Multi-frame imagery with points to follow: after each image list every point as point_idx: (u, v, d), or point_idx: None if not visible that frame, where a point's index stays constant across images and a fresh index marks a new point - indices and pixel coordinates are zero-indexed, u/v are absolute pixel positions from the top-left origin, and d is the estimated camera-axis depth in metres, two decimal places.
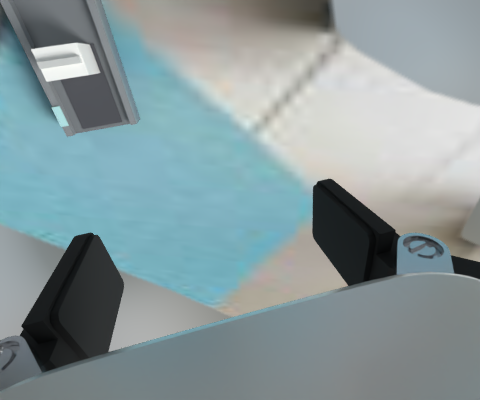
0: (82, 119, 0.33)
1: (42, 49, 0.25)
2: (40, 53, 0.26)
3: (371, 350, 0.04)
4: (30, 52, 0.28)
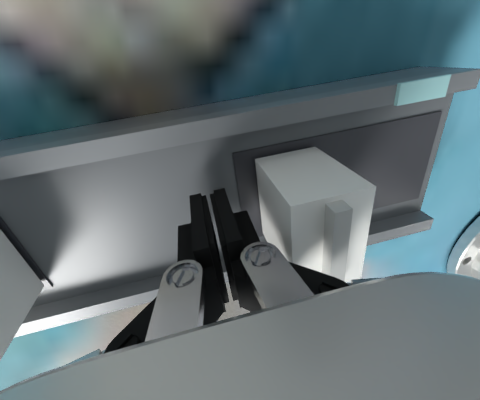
0: None
1: None
2: None
3: (371, 350, 0.04)
4: None
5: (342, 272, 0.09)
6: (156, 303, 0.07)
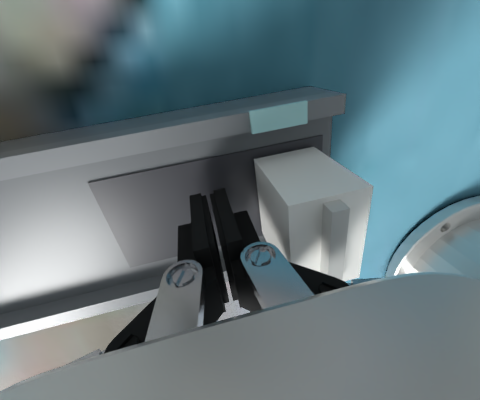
0: None
1: None
2: None
3: (371, 350, 0.04)
4: None
5: (340, 271, 0.09)
6: (156, 303, 0.07)
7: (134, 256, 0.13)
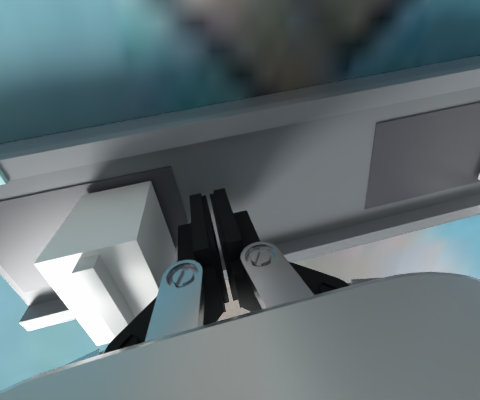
0: None
1: (142, 265, 0.08)
2: (128, 259, 0.08)
3: (371, 351, 0.04)
4: (158, 143, 0.10)
5: None
6: (156, 303, 0.07)
7: (373, 198, 0.15)
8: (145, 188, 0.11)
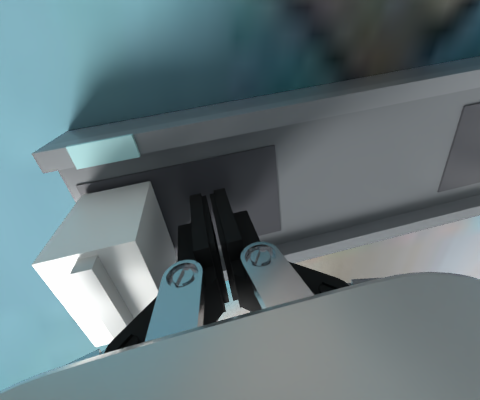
0: (108, 189, 0.11)
1: (141, 266, 0.08)
2: (127, 260, 0.08)
3: (372, 351, 0.04)
4: (277, 120, 0.11)
5: None
6: (156, 303, 0.07)
7: (448, 181, 0.15)
8: (144, 188, 0.11)
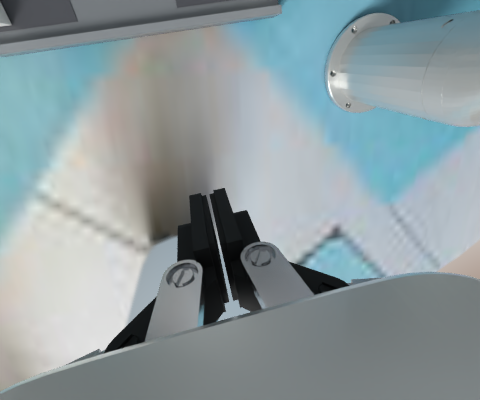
0: None
1: None
2: None
3: (372, 351, 0.04)
4: None
5: None
6: (156, 303, 0.07)
7: None
8: None
